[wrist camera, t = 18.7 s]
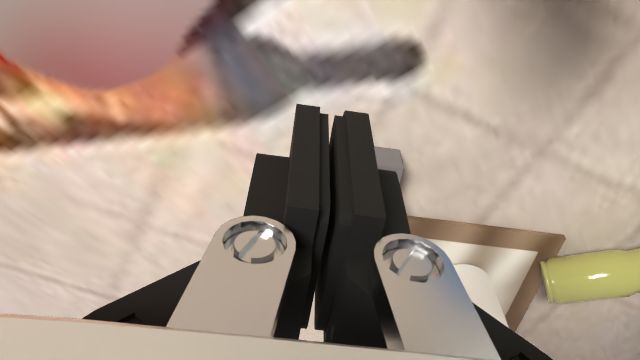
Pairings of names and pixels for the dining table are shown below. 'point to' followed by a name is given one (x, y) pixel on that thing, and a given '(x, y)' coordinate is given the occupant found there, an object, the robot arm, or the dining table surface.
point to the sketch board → (495, 257)
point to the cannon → (592, 276)
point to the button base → (389, 160)
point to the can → (480, 290)
